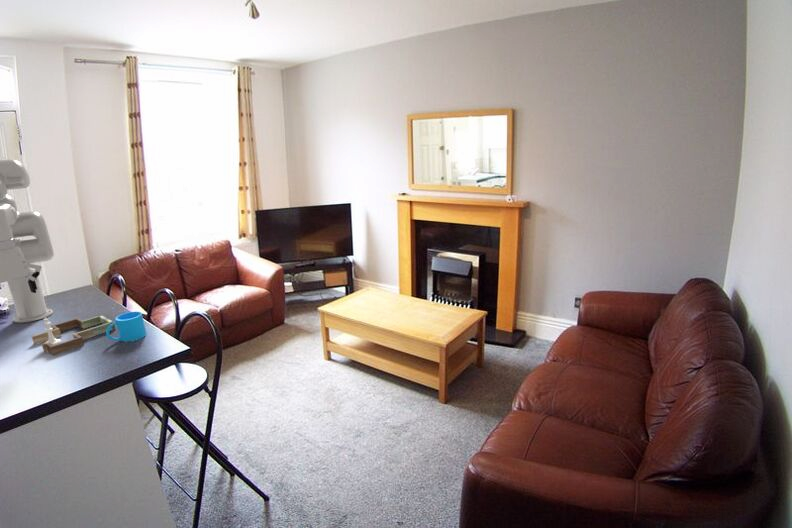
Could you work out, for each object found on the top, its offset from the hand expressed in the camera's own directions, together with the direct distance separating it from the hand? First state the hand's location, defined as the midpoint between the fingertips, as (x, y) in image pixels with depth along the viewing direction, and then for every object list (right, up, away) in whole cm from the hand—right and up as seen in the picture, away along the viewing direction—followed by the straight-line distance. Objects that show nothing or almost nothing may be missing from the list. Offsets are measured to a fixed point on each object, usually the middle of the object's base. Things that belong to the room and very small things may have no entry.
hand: (15, 296), depth 144 cm
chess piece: (+3, -18, +11) cm, 21 cm away
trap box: (+7, -16, +16) cm, 24 cm away
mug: (+29, -16, +13) cm, 36 cm away
